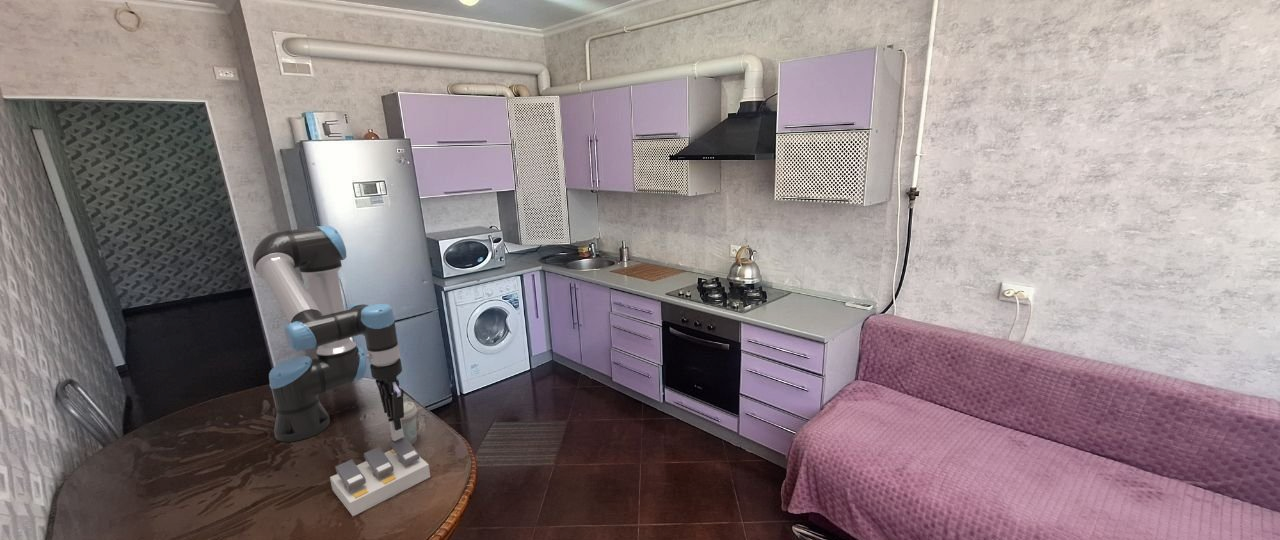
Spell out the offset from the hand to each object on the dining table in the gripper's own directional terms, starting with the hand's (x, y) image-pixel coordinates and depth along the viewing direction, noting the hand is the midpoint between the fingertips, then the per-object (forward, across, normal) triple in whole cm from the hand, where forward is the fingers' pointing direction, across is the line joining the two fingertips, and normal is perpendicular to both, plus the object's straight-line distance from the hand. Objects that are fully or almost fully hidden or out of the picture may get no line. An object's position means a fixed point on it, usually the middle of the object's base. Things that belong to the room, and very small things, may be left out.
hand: (398, 437), depth 143 cm
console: (+9, +3, -7) cm, 12 cm away
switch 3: (+3, +3, 0) cm, 5 cm away
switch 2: (+3, +3, -7) cm, 8 cm away
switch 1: (+3, +3, -14) cm, 15 cm away
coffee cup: (+9, -11, +6) cm, 16 cm away
